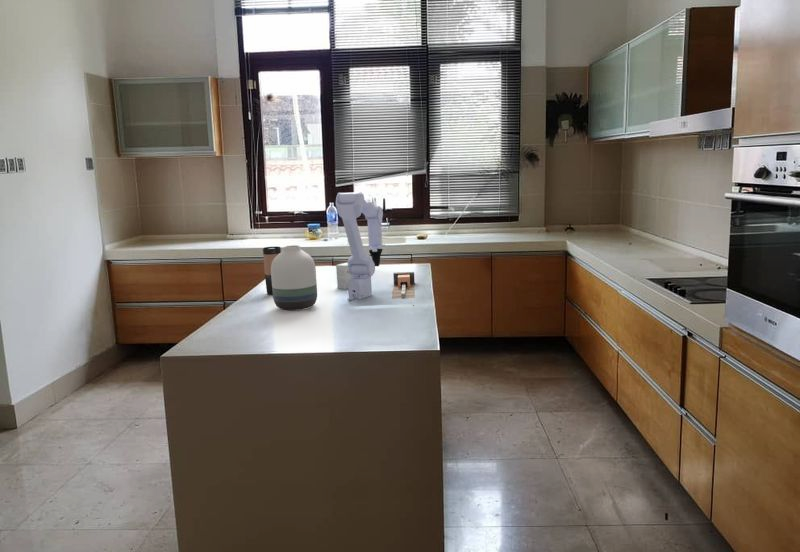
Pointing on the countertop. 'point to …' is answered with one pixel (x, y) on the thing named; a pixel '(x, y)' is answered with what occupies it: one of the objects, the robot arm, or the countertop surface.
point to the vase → (293, 279)
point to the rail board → (404, 286)
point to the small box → (343, 275)
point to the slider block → (403, 280)
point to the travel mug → (269, 265)
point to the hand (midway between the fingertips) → (376, 266)
